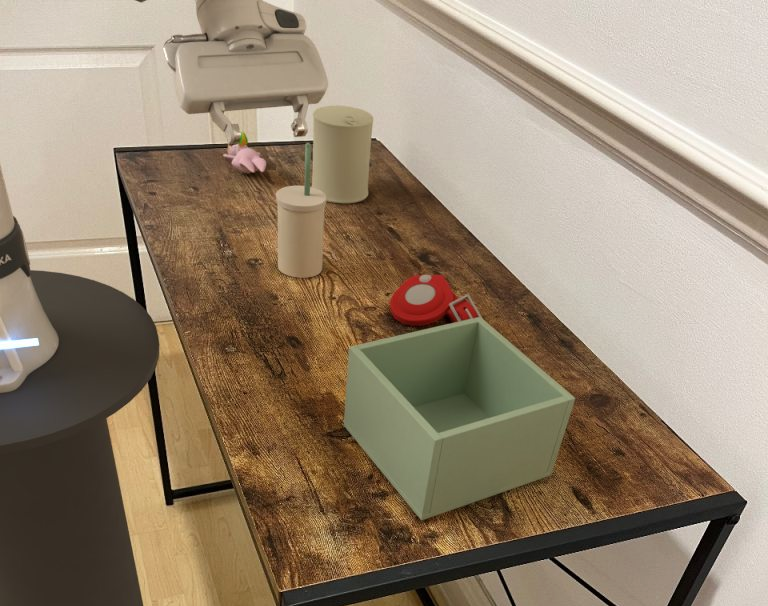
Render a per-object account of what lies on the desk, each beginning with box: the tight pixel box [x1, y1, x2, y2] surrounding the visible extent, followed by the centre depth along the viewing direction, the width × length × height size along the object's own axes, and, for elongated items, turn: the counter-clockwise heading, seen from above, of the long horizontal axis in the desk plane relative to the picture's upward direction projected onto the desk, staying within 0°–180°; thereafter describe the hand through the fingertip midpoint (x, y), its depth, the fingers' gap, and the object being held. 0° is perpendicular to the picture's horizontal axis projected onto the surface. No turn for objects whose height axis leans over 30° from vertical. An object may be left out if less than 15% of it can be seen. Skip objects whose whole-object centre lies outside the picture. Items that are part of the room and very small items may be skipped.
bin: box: [343, 316, 576, 521], centre depth 77 cm, size 16×16×10 cm
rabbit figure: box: [222, 131, 267, 175], centre depth 126 cm, size 6×6×15 cm
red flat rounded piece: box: [389, 274, 484, 327], centre depth 99 cm, size 12×4×10 cm
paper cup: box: [275, 142, 327, 279], centre depth 100 cm, size 6×6×16 cm
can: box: [310, 105, 374, 205], centre depth 121 cm, size 9×9×12 cm
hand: (269, 138), depth 102 cm, fingers open, 8 cm apart
